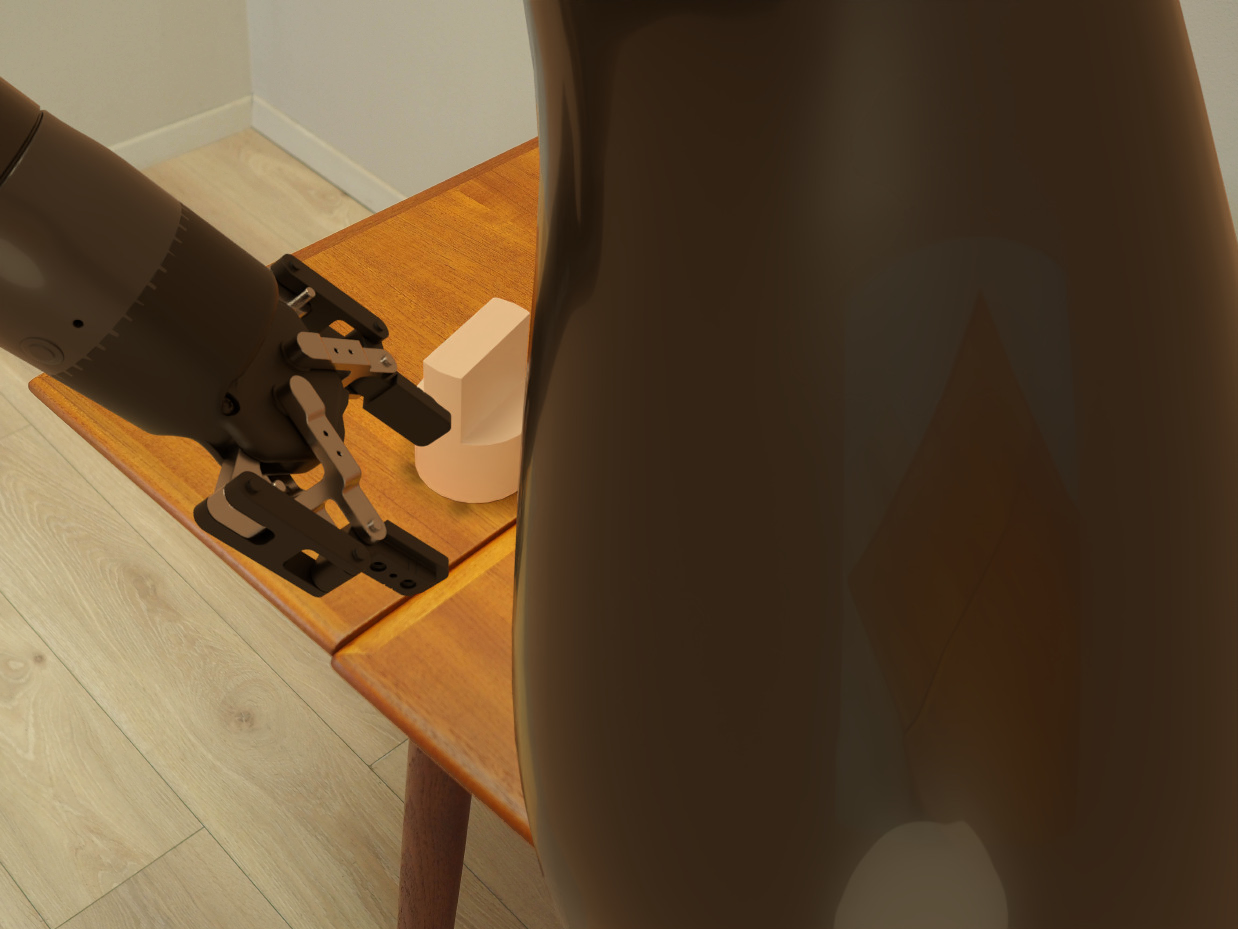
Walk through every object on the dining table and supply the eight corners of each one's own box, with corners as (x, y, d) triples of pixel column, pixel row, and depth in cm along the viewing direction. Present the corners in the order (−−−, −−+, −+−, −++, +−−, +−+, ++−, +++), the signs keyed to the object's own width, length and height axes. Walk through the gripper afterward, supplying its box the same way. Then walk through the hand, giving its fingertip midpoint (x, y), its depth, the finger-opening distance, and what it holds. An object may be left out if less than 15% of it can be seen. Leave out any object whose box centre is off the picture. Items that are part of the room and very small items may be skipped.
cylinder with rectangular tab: (459, 402, 84) (460, 279, 75) (556, 448, 82) (568, 327, 73) (390, 469, 78) (382, 345, 69) (492, 521, 76) (498, 399, 67)
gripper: (124, 361, 30) (504, 597, 40) (206, 110, 40) (497, 352, 50) (-21, 482, 33) (368, 673, 43) (89, 222, 43) (385, 428, 53)
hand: (436, 501), depth 47 cm, fingers open, 8 cm apart
